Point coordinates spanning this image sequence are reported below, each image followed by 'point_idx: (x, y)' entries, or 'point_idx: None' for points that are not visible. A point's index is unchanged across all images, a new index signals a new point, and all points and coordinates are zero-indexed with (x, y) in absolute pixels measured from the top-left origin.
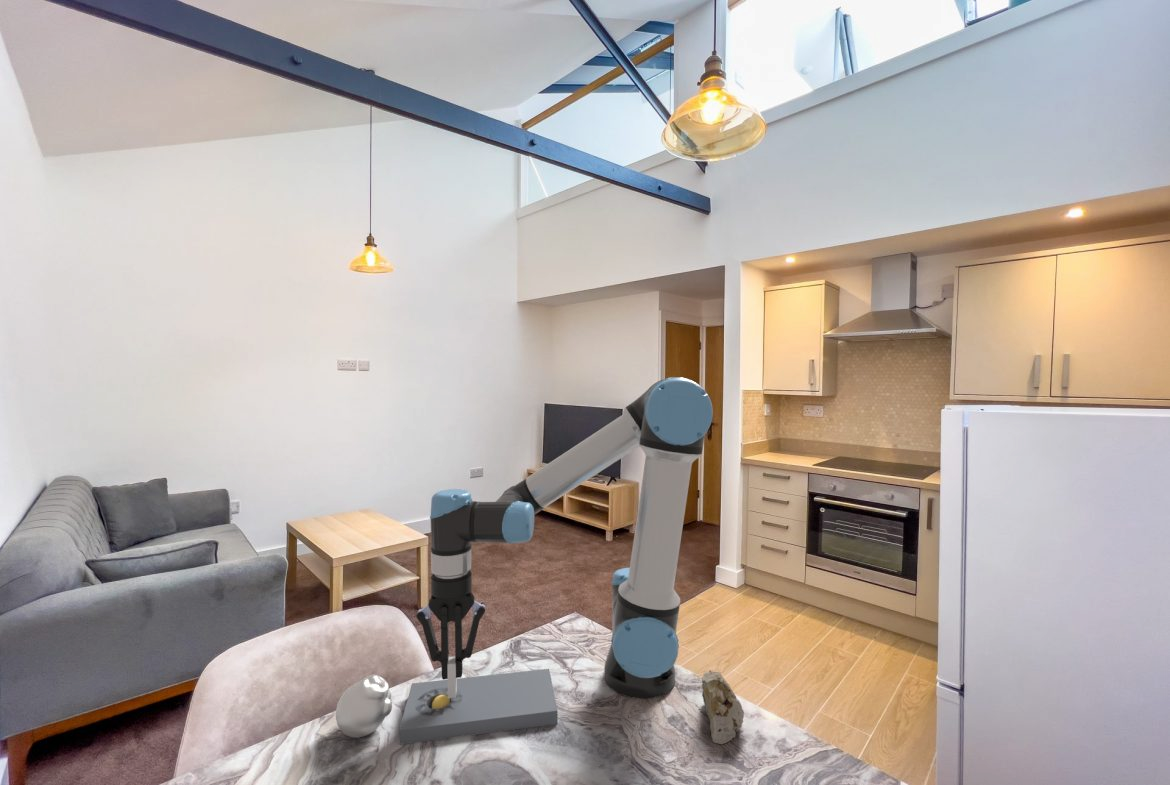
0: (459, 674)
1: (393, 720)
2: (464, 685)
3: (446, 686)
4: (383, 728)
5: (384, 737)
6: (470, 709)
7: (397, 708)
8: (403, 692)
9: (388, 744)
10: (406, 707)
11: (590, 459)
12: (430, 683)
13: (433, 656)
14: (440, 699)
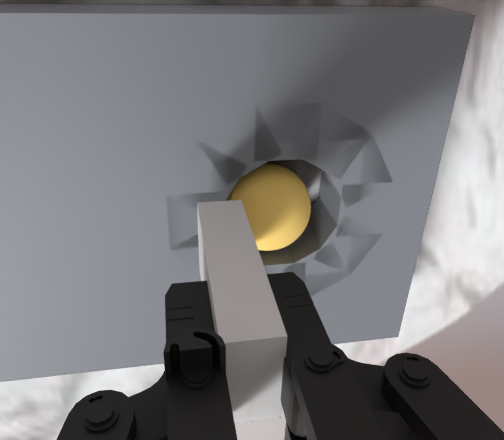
0: (183, 296)
1: (448, 173)
2: None
3: None
4: (487, 129)
5: (489, 70)
6: (102, 129)
7: (429, 239)
8: (405, 320)
9: (478, 17)
10: (428, 188)
11: None
12: None
13: (433, 388)
14: (277, 209)
